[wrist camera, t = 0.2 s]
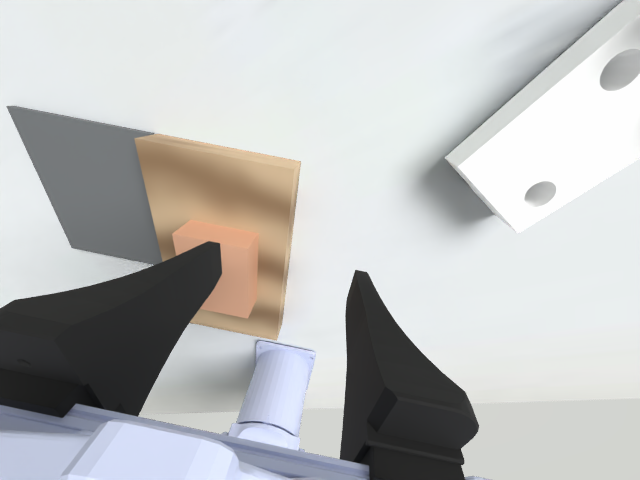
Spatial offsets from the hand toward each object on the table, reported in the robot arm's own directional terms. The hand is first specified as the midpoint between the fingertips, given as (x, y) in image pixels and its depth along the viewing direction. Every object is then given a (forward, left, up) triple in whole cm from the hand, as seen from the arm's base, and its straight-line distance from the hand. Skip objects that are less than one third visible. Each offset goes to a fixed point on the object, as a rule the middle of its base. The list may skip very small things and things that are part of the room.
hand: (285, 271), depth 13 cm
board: (-7, +7, -10) cm, 14 cm away
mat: (-4, +20, -10) cm, 22 cm away
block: (-7, +7, -8) cm, 12 cm away
